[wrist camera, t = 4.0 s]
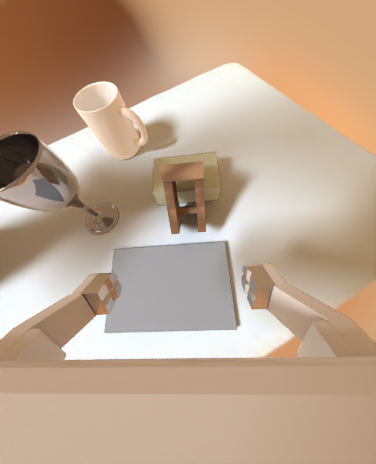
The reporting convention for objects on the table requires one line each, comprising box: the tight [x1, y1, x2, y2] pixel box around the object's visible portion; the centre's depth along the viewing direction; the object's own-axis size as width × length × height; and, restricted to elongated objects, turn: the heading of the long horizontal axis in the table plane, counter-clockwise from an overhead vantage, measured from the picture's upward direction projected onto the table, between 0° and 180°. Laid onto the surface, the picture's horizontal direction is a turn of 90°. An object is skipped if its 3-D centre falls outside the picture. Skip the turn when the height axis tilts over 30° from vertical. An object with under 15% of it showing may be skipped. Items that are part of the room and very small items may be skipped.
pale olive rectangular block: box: [153, 152, 221, 205], centre depth 27 cm, size 12×8×4 cm, turn 93°
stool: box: [159, 161, 206, 234], centre depth 22 cm, size 6×11×11 cm, turn 3°
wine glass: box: [0, 131, 119, 234], centre depth 21 cm, size 8×8×15 cm
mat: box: [104, 242, 237, 333], centre depth 23 cm, size 20×13×1 cm, turn 93°
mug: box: [73, 82, 148, 160], centre depth 29 cm, size 12×8×10 cm
